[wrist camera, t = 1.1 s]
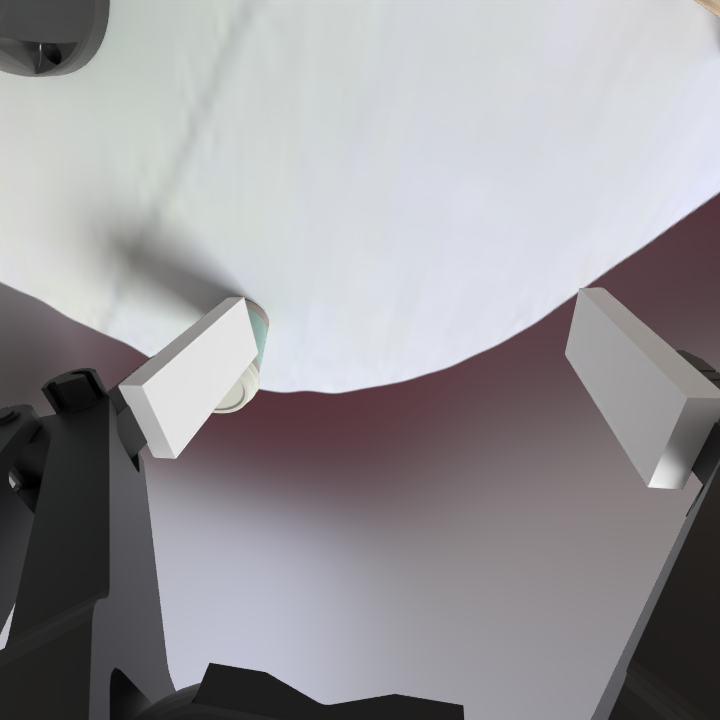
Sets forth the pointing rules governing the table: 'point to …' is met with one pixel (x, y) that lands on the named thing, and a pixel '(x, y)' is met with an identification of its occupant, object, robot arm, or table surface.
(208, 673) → the robot arm
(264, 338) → the coffee cup
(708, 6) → the oak stand
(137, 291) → the table surface
